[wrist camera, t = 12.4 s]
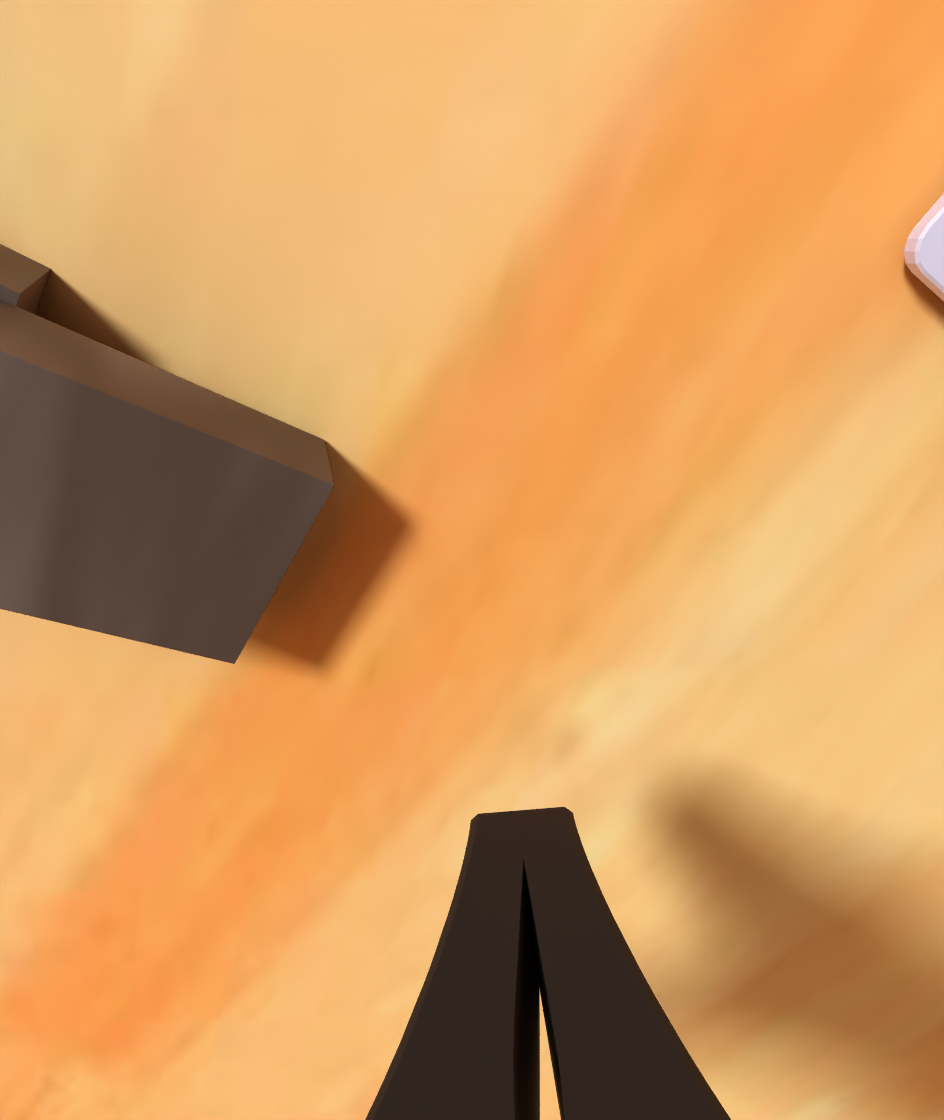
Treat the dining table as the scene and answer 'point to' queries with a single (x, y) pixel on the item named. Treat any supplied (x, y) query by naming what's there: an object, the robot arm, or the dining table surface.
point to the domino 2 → (142, 494)
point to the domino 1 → (21, 280)
